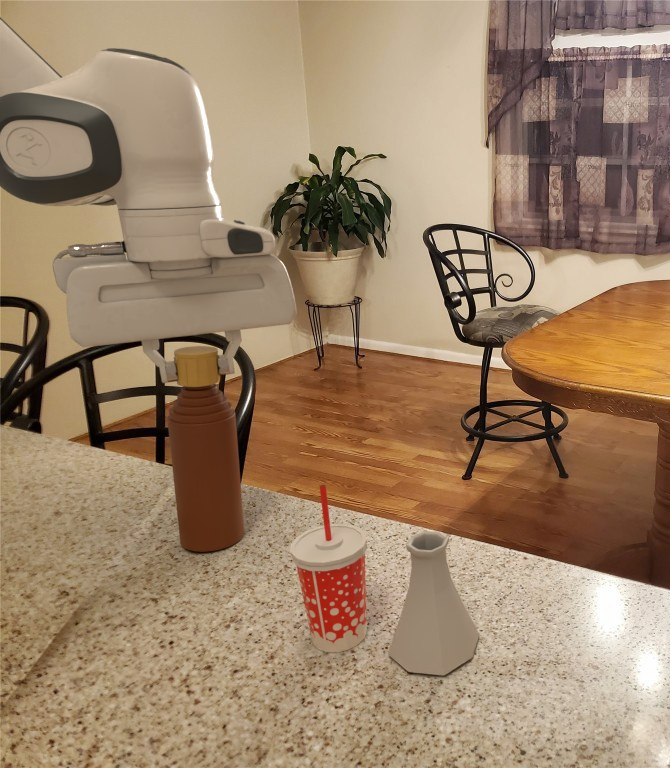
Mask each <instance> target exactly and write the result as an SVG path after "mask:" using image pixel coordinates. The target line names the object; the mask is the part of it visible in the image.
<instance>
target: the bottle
mask: <svg viewBox="0 0 670 768" xmlns="http://www.w3.org/2000/svg"><path fill="white" fill-rule="evenodd" d="M180 391H181V392H179V393H178V394H177V396H176V398H177V399H175V400H173V402H172V406H171V407H170V408H169V409H168V416H167V427H168V438H169V439H168V440H169V449H170V457H171V458H170V459H171V466H172V476H173V486H174V493H175V494H174V496H175V505H176V514H177V525H178V535H179V544H180V545H181V547H182V548H184V549H186V550H188V551H191V552H197V553H198V552H200V553H201V552H203V553H204V552H214V551H218V550H223V549H226V548H229V547H231V546H233V545H235V544H237V543H238V542H240V541H241V540H242V538H243V537H244V535H245V524H244V523H245V522H244V510H243V509H244V507H243V497H242V495H243V494H242V484H241V483H242V482H241V471H240V458H239V443H238V432H237V431H238V430H237V429H238V428H237V417H236V411H235V410H234V408H233V407H234V406H233V404H232V403H231V402H230V401H228V398H227V396H225V395H223V391H222V390H220V389H218V385H217V383H216V384H213V385H209V386H202V387H185V386H181V390H180Z"/></svg>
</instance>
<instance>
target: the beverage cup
mask: <svg viewBox="0 0 670 768" xmlns="http://www.w3.org/2000/svg"><path fill="white" fill-rule="evenodd" d="M319 493H320V502H321V511H322V520H323V525H318V526H315V527H313V528H310V529H308V530H306V531H304V532H302V533H300V534H299V535H298V536H296V537H295V538H294V540H293V541H292V542H291V544H290V556H291V561H292V562H293V563H294V564H295V566H296V570H297V575H298V581H299V584H300V589H301V595H302V598H303V603H304V608H305V613H306V618H307V623H308V628H309V632H310V638H311V642H312V645H313V646H314V647H315V648H316V649H317V650H319V651H322V652H325V653H340V652H345V651H349V650H351V649H352V648H354V647H357V646H358V645H359V644H360V643H361V642H363V641H364V640H365V638H366V636H367V633H368V616H367V583H366V581H367V580H366V552H367V550H368V537H367V533H366V531H365V530H364V529H362V528H361V527H359V526H356V525H353V524H349V523H331V520H330V512H329V504H328V494H327V486H326V485H325V484H321V485H319Z"/></svg>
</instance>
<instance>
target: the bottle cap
mask: <svg viewBox="0 0 670 768" xmlns="http://www.w3.org/2000/svg"><path fill="white" fill-rule="evenodd" d="M218 349H219V348H217V347H215V346H210V345H209V346H208V345H194V346H192V345H191V346H184V347H180V348H177V349H175V350H174V351H173V355H174V357H173V361H174V363H175V364H176V369H177V372H176V373H177V375H178V381H176V384H177V385H178V386H181V387H183V386H185V387H202V386H209V385H213V384H216V385H217V384H218V383H219V382H220V381H221V375H219V366H218V361H217V359H218V357H219V355H220V354H219V350H218Z"/></svg>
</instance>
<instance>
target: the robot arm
mask: <svg viewBox="0 0 670 768" xmlns="http://www.w3.org/2000/svg"><path fill="white" fill-rule="evenodd" d="M214 163H215V152H214V146H213V141H212V134H211V128H210V123H209V119H208V114H207V110H206V106H205V102H204V99H203V95H202V92H201V89H200V86H199V84H198V81H197V80H196V78H195V76H194V75H193V74H192V73H191V72H190V71H189V70H188V69H187V68H185V67H184V66H182V65H181V64H179V63H178V62H176V61H174V60H172V59H169V58H168V57H163V56H159V55H158V54H157V55H156V54H154V53H149V52H145V51H139V50H135V49H128V48H116V47H113V48H111V47H110V48H106V49H101V50H99V51H98V52H96V53H95V55H94V56H93V57H92V58H91V59H90V60H89V61H88V62H86V64H84V65H83V66H81V67H79V68H78V69H76V70H73V72H71V73H69V74H67V75H64V76H62V75H61V74H60V73H59V72H58V71H57V70H56V69H55V68H53V66H51V64H49V63H48V62H47V61H46V59H44V58H43V56H41V55H40V54H39V53H38V52H37V51H36V49H34V48H33V47H32V45H30V44H29V43H28V42H27V41H26V40H24V39H23V37H21V36H20V35H19V34H18V33H17V32H16V30H14V29H13V28H12V27H11V26H10V25H9V24H8V23H7V22H6V21H5V20H4V19H3V18H2V17H0V188H1V189H3V190H4V191H5V192H7V193H8V194H10V195H11V196H13V197H15V198H17V199H20V200H22V201H24V202H29V203H33V204H37V205H40V206H47V207H67V206H73V207H74V206H75V207H76V206H85V205H90V206H93V205H94V206H101V207H107V206H109V207H110V206H116V207H117V212H118V213H117V214H118V217H119V222H120V228H121V233H122V238H123V240H122V241H110V242H108V241H107V242H100V243H94V244H92V243H91V244H85V243H77V244H71V245H68V246H67V249H64V250H62V251H60V252H58V253H57V254H56V256H55V257H54V258H53V261H52V270H53V271H52V272H53V275H54V279H55V283H56V286H57V288H59V289H60V291H62V292H63V293H64V294H65V297H66V301H65V303H66V318H67V325H68V331H69V332H68V333H69V336H70V339H71V340H72V341H73V342H75V343H76V344H77V345H78V346H80V347H82V348H90V347H98V346H99V347H100V346H108V345H109V346H110V345H119V344H125V343H135V342H141V346H142V351H143V353H144V354H145V356H147V357H148V358H149V360H150V361H151V362H152V363H153V364H154V365H155V366H156V367H157V368H159V375H160V378H161V383H162V384H168V383H175V382H177V381H178V375H177V373H176V372H177V369H176V364H175V363H174V360H173V361H171V360H169V361H167V360H166V359H165V358H164V357H163V356H162V355H161V353H160V352H159V349H160V340H161V339H171V338H179V337H180V338H181V337H189V336H196V335H206V334H214V333H216V334H217V333H224V336H225V339H226V341H227V342H228V345H227V347H226V349H225V352H224V354H218V355H219V357H218V359H217V361H218V366H219V375H220V376H227V375H235V373H236V372H235V371H236V370H235V365H234V364H235V363H234V358H235V356H236V354H237V352H238V349H239V348H240V345H241V343H242V333H241V332H242V331H241V330H251V329H259V328H269V327H276V326H286V325H291V324H292V323H293V322H294V320H295V318H296V317H297V315H298V312H297V311H298V310H297V303H296V298H295V293H294V289H293V285H292V282H291V278H290V276H289V273H288V270H287V267H286V266H285V264H284V262H283V261H281V259H279V258H278V257H277V256H276V255H275V254H273V253H274V252H275V249H276V239H275V236H274V234H273V232H272V231H270V230H269V229H266V228H264V227H260V226H256V225H251V224H247V223H245V222H244V221H241V220H237V219H234V220H231V219H226V218H225V216H224V214H223V208H222V201H221V198H220V195H219V193H218V191H217V189H216V186H215V183H214V177H213V174H214V173H213V170H214ZM67 255H69V256H67ZM65 256H67V257H65Z"/></svg>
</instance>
